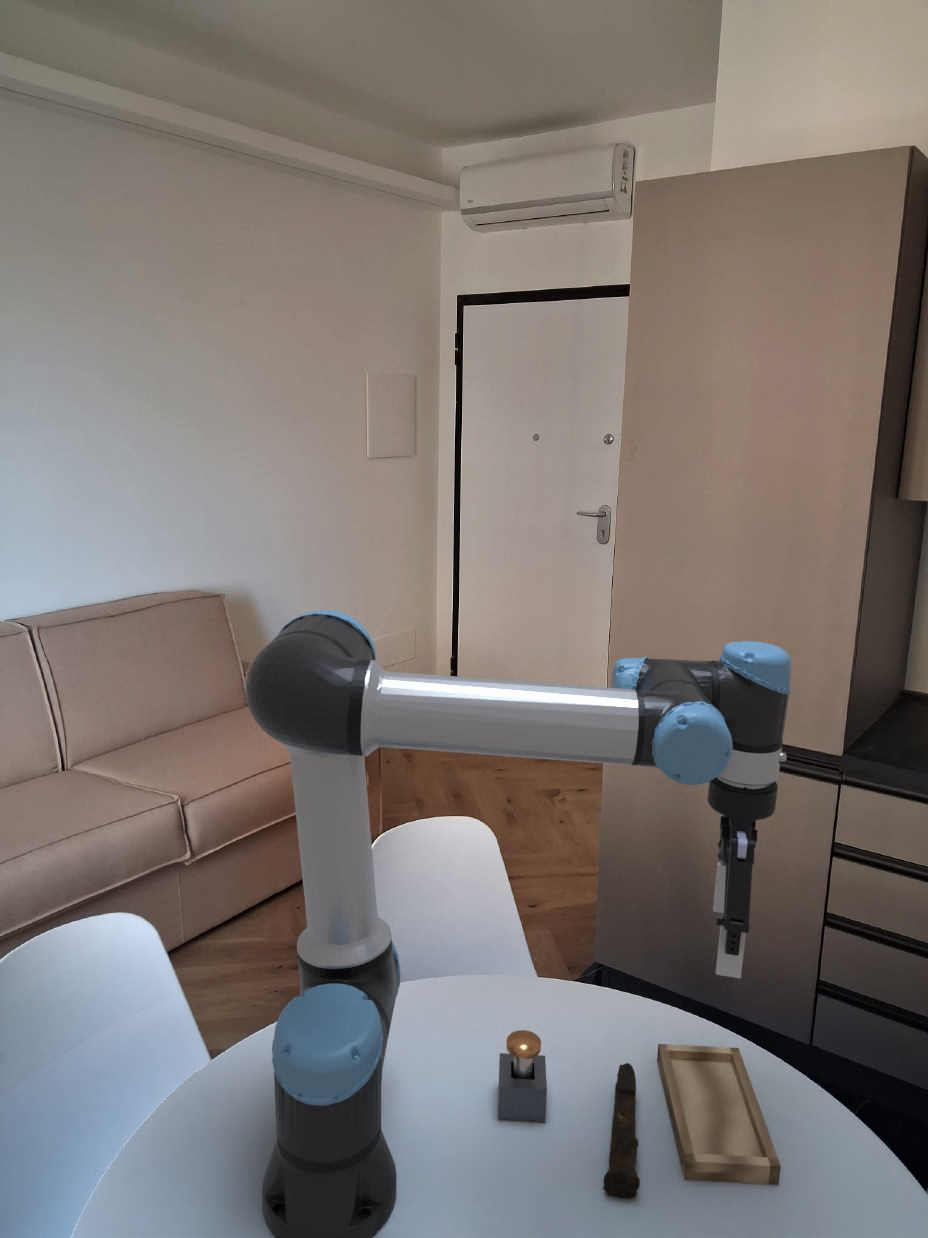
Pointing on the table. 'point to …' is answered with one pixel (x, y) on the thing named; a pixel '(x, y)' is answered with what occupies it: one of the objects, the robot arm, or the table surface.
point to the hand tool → (623, 1139)
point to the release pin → (523, 1052)
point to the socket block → (522, 1091)
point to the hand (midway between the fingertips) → (725, 941)
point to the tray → (716, 1116)
